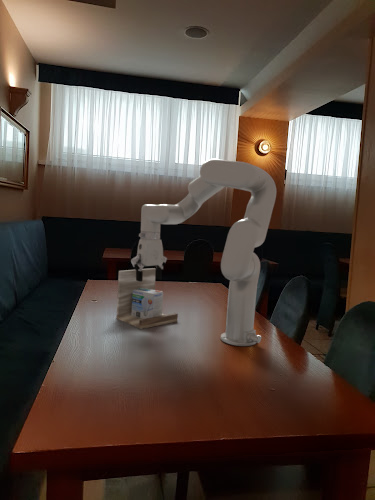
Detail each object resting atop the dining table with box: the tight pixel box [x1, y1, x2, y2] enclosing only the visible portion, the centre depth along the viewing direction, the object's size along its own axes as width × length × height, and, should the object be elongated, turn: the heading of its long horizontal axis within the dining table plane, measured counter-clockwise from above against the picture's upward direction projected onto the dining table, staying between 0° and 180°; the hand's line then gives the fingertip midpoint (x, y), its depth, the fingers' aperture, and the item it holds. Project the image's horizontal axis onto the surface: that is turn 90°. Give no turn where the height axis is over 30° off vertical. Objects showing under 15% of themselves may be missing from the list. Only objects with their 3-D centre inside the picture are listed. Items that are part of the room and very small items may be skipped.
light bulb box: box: [131, 288, 164, 319], centre depth 152 cm, size 11×7×11 cm, turn 60°
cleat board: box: [116, 267, 179, 330], centre depth 151 cm, size 16×18×19 cm
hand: (149, 279), depth 151 cm, fingers open, 9 cm apart
